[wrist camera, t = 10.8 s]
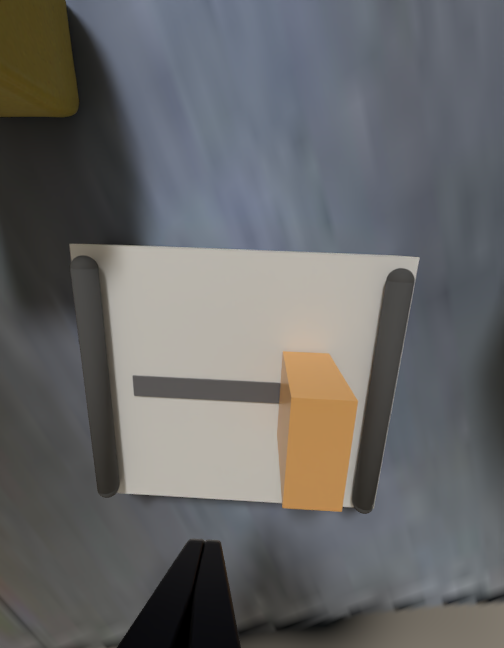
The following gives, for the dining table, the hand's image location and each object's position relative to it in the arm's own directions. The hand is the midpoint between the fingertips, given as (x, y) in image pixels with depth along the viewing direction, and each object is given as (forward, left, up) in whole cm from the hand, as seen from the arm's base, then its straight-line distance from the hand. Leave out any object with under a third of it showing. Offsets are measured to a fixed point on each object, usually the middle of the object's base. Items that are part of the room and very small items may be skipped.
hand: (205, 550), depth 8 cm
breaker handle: (-4, 0, -9) cm, 9 cm away
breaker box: (0, 0, -12) cm, 12 cm away
